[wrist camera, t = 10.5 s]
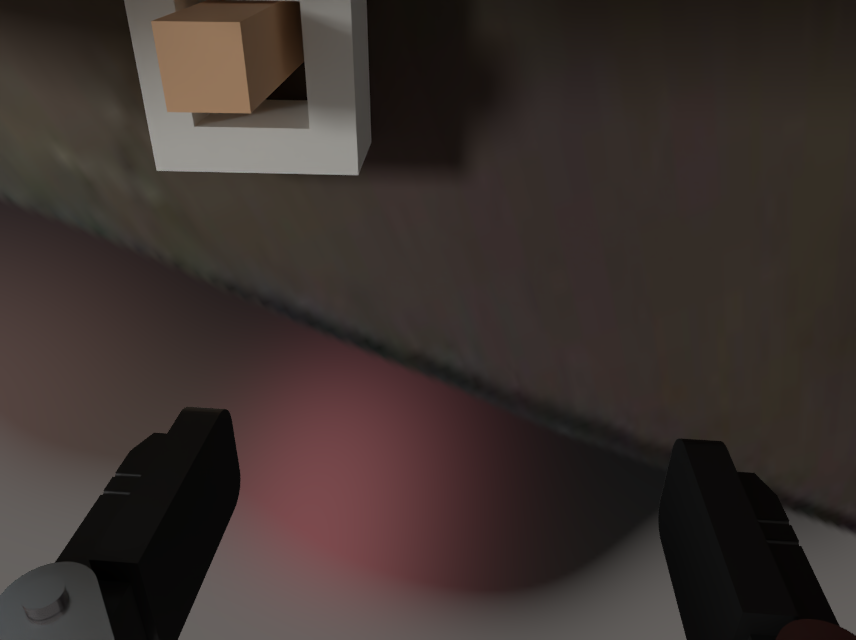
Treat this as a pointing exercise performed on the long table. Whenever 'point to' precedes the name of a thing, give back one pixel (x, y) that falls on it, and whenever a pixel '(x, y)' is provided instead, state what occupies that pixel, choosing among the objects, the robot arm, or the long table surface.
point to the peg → (227, 53)
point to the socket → (269, 102)
